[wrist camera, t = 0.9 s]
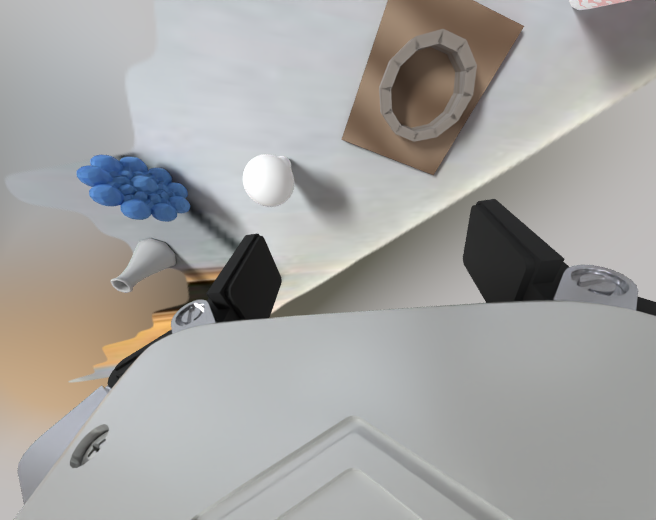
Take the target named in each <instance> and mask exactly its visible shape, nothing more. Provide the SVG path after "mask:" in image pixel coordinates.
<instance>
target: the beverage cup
mask: <svg viewBox="0 0 656 520" xmlns="http://www.w3.org/2000/svg"><path fill="white" fill-rule="evenodd" d="M626 1H630V0H569V2H570V4H571V7H573V8H575V9H577V10H585V9H591V8H596V7H601V6H606V5H611V4H616V3H621V2H626Z"/></svg>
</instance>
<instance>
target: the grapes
mask: <svg viewBox="0 0 656 520" xmlns="http://www.w3.org/2000/svg"><path fill="white" fill-rule="evenodd" d="M90 160H91V166H89V165H88V166H83V167H81V168H79V169H78V170H77V177H78V178H79V179H80V181H81V182H83V183H84V184H86V185H88V186H91V187H92V188H91V189H90V190H89V195H90V197H91V198H92V199H93V200H94V201H95V202H97V203H99V204H101V205H105V206H117V205H121V211H122V213H123V214H124V215H125V216H127V217H129V218H131V219H136V220H143V219H146V218H148V217H149V216H150V215H151V214H152V215H153V217H154V218H156V219H157V220H160V221H168V222H169V221H172V220H174V219H175V218H176V217H177V213H185V212H188V211H189V209H190V204H189V202H188V201H187V200H186V199H185V198H186V197H187V196H188V191H187V189H186V188H185V187H184V186H183V185H182V184H180V183H174V182H172V177H171V175H170V173H168V172H167V171H166V170H165V169H162V168H151V169H149V170H148V168H147V166H146V165H145V163H144V162H143V161H142V160H140V159H139V158H136V157H123V158H122V159H121V160H120V161H118V160H117V159H116V158H114V157H112V156H109V155H97V156H94V157H93V158H92V159H90ZM171 182H172V183H171Z"/></svg>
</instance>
